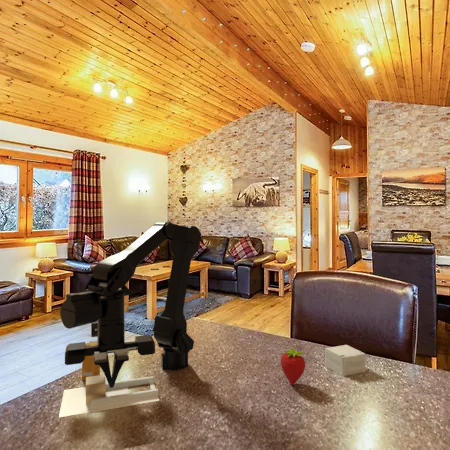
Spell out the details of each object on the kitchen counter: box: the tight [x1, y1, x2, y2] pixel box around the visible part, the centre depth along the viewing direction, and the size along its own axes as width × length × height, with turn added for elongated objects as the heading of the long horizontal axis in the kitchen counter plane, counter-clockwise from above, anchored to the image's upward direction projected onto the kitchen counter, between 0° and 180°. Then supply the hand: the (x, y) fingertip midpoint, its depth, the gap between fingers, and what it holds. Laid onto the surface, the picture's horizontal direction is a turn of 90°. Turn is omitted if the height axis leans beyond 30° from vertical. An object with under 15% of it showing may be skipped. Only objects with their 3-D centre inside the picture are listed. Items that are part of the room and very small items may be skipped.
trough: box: [58, 375, 160, 418], centre depth 79 cm, size 20×12×3 cm, turn 110°
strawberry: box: [280, 344, 306, 386], centre depth 88 cm, size 6×8×10 cm
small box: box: [324, 344, 367, 377], centre depth 98 cm, size 8×8×5 cm
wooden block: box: [85, 374, 106, 403], centre depth 78 cm, size 4×4×4 cm
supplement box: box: [81, 340, 101, 381], centre depth 88 cm, size 3×3×10 cm
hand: (111, 386), depth 79 cm, fingers closed
